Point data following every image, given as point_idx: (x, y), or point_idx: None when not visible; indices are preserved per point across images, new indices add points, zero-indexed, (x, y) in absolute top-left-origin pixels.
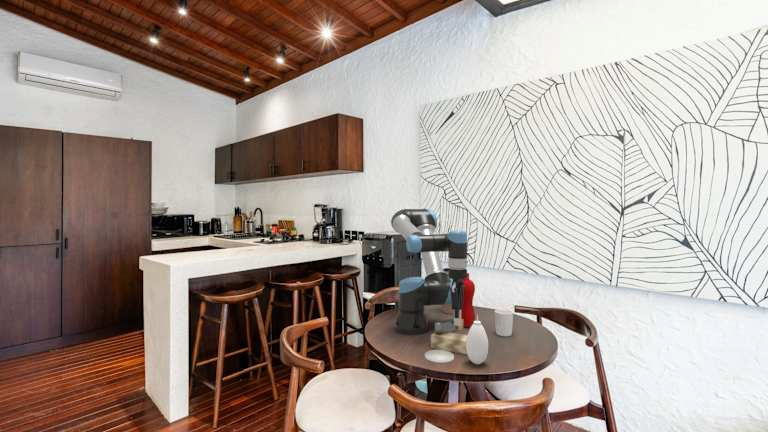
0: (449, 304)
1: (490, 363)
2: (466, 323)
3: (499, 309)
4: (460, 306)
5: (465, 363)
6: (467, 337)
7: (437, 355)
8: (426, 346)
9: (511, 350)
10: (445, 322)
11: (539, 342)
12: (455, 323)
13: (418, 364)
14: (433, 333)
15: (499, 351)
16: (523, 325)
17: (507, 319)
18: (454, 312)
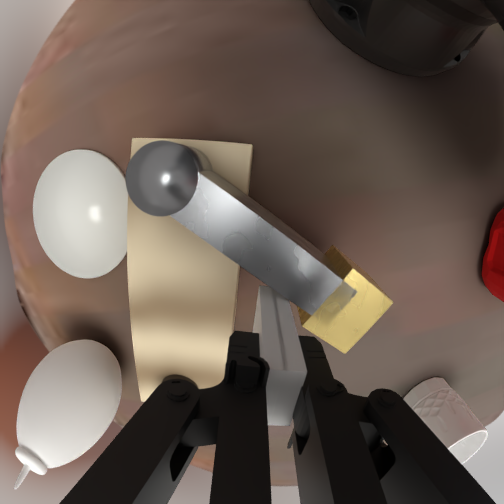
0: None
1: (127, 388)
2: (490, 273)
3: (486, 434)
4: (294, 447)
5: (81, 318)
6: (30, 382)
7: (72, 208)
8: (168, 116)
9: (268, 436)
10: (203, 233)
11: None
12: (257, 305)
13: (11, 164)
14: (171, 140)
15: None
16: (480, 412)
17: None
18: (262, 353)
